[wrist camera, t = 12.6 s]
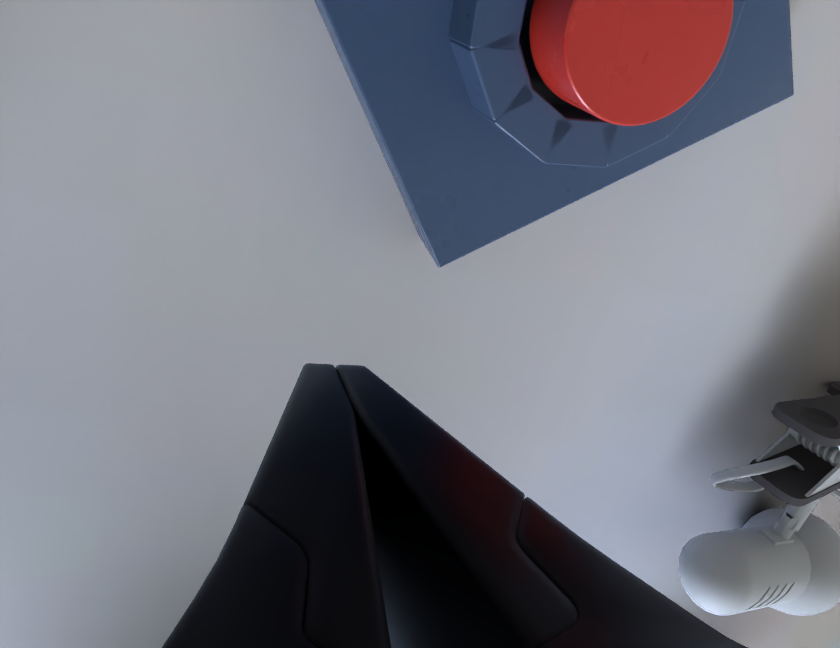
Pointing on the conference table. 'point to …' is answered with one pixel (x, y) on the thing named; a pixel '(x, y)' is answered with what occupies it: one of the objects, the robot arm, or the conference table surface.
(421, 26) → the switch block
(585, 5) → the switch button
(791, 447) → the clip-on lamp
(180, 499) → the conference table surface
